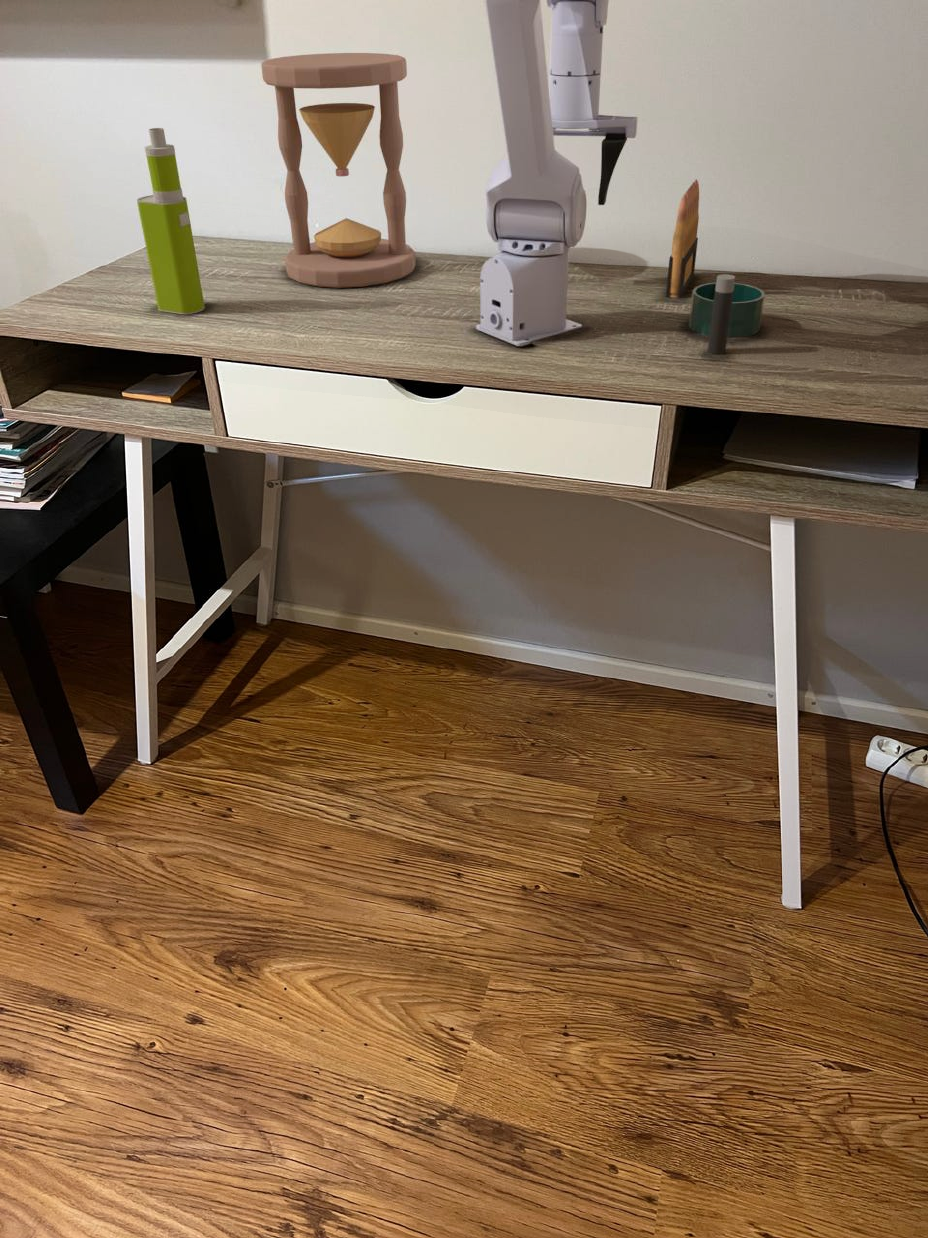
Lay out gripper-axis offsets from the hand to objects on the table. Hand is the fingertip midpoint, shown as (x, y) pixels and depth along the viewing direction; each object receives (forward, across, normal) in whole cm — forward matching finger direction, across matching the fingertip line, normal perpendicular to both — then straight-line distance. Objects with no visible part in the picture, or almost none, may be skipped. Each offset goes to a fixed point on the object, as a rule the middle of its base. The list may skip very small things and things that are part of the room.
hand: (570, 202), depth 117 cm
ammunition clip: (+11, -14, -3) cm, 18 cm away
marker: (+10, -19, +21) cm, 30 cm away
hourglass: (+11, +30, -4) cm, 32 cm away
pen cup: (+10, -20, +12) cm, 25 cm away
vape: (+11, +46, +15) cm, 49 cm away
